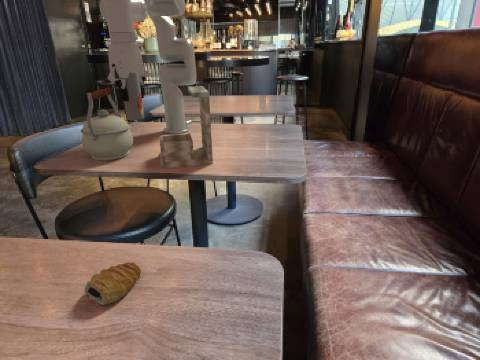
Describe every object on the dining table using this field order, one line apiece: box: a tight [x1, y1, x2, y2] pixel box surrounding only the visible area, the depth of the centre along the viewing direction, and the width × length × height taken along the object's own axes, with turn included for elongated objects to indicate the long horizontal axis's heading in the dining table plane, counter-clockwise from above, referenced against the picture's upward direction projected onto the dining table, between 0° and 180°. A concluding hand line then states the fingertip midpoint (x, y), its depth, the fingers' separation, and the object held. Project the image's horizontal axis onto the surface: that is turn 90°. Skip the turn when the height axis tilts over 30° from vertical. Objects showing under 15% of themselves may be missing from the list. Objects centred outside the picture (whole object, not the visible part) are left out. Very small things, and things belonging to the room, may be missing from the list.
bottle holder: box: [159, 85, 214, 169], centre depth 114 cm, size 18×18×25 cm
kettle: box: [80, 87, 134, 161], centre depth 121 cm, size 25×18×25 cm
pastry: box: [84, 261, 142, 306], centre depth 55 cm, size 9×7×4 cm
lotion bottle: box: [123, 72, 145, 121], centre depth 103 cm, size 6×6×20 cm
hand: (132, 98), depth 104 cm, fingers closed on lotion bottle, 5 cm apart
